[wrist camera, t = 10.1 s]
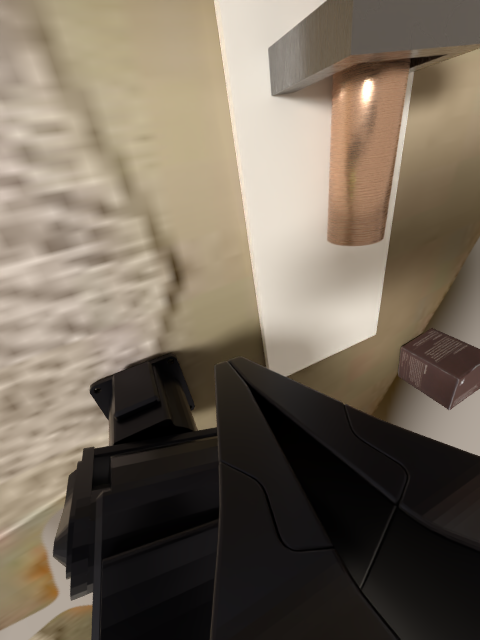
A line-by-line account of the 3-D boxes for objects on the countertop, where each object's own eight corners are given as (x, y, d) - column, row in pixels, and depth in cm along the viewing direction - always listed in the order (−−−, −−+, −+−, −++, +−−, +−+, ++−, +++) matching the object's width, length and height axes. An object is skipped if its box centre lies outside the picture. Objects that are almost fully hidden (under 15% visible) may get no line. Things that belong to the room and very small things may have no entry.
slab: (371, 331, 31) (375, 334, 30) (268, 380, 27) (271, 383, 27) (442, -193, 13) (454, -207, 13) (176, -264, 10) (180, -288, 9)
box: (395, 376, 38) (448, 412, 32) (399, 345, 35) (458, 379, 29) (425, 357, 40) (481, 388, 34) (432, 326, 36) (495, 354, 30)
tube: (345, 228, 22) (395, 233, 19) (315, 241, 20) (365, 249, 18) (372, -146, 13) (477, -245, 10) (320, -187, 11) (431, -323, 8)
